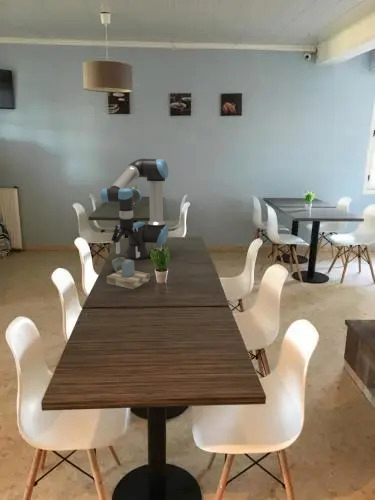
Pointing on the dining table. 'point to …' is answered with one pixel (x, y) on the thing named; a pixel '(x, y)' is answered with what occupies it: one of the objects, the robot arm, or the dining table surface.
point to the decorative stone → (118, 263)
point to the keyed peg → (128, 268)
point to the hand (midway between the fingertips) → (128, 255)
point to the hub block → (128, 279)
